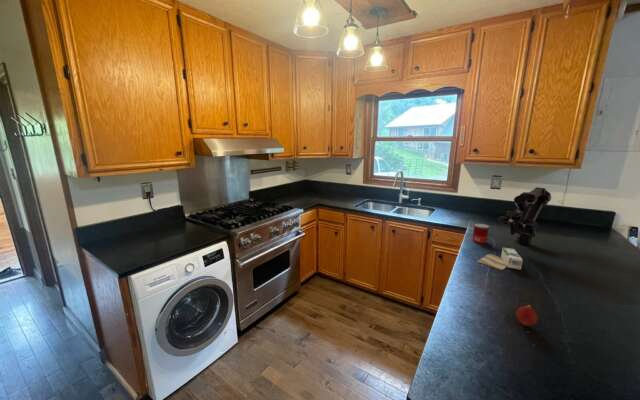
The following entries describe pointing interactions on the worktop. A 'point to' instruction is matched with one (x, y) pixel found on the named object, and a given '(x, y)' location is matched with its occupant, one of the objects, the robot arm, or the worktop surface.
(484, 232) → the canned food
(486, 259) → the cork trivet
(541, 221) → the worktop surface
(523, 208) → the robot arm
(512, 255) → the syrup box
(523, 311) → the onion
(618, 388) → the worktop surface
